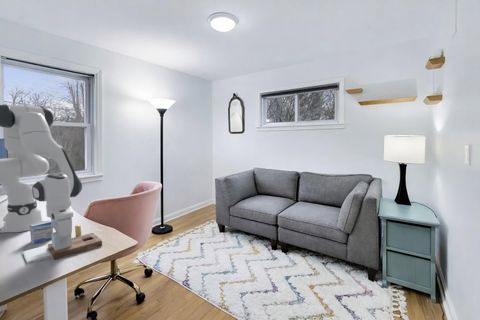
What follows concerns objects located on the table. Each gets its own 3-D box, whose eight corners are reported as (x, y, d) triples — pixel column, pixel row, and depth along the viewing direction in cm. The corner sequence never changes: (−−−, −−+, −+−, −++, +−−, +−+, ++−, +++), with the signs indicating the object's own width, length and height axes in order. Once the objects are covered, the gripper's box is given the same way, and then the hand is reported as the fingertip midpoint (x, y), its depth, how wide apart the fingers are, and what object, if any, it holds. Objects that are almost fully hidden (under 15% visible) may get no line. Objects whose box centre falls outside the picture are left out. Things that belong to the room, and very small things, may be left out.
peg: (75, 237, 121) (74, 225, 121) (80, 235, 123) (79, 224, 122) (76, 238, 120) (75, 227, 119) (82, 237, 121) (81, 225, 121)
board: (48, 249, 108) (47, 235, 107) (93, 237, 121) (92, 225, 121) (54, 259, 99) (53, 244, 99) (102, 245, 112) (101, 232, 112)
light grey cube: (52, 246, 106) (51, 233, 106) (68, 241, 111) (67, 229, 110) (55, 250, 102) (54, 237, 102) (72, 245, 107) (71, 232, 106)
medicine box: (33, 244, 113) (31, 226, 112) (30, 241, 116) (29, 224, 115) (53, 238, 120) (52, 221, 119) (50, 236, 122) (49, 219, 121)
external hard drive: (46, 248, 110) (52, 257, 102) (22, 255, 104) (27, 265, 96) (46, 245, 110) (52, 254, 102) (22, 251, 104) (26, 261, 96)
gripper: (45, 207, 109) (48, 236, 111) (55, 217, 96) (58, 250, 97) (62, 204, 114) (64, 232, 115) (74, 214, 100) (76, 245, 102)
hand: (61, 241), depth 106 cm, fingers open, 7 cm apart
